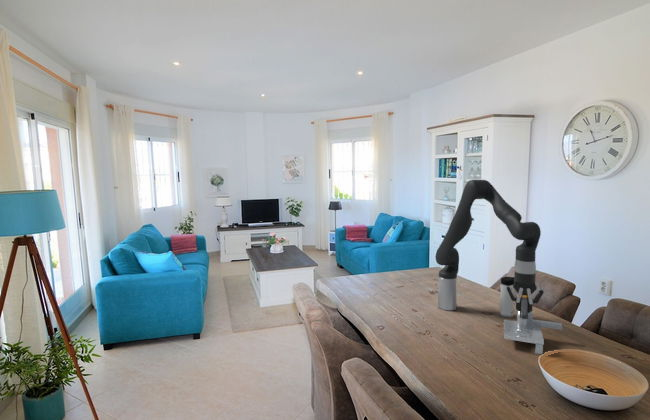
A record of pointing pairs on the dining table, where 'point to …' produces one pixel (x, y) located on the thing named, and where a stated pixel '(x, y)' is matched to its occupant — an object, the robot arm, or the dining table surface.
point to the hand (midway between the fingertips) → (523, 311)
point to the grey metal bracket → (528, 330)
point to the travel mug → (506, 298)
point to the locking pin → (524, 307)
